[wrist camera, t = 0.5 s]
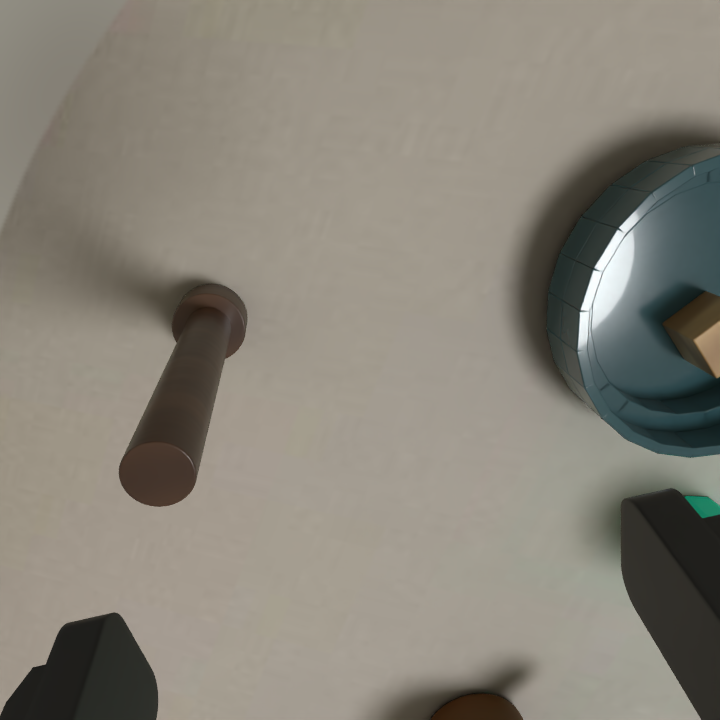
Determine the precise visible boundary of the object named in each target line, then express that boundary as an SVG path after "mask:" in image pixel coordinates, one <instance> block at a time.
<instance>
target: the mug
mask: <svg viewBox="0 0 720 720" xmlns="http://www.w3.org/2000/svg"><path fill="white" fill-rule="evenodd" d="M431 720H523V718H522V716H521V715H520V713H519V711H518V710H517V709H516V707H515V706H514V705H513V704H511V703H510V702H509V701H507V700H506V699H504V698H502V697H499V696H496V695H492V694H471V695H466V696H463V697H460V698H457V699H455V700H453V701H451V702H449V703H447V704H446V705H444V706H443V707H442V708H440V709H439V710H438V711H437V712H436V713H435V714H434V716H433V717H432V718H431Z"/></svg>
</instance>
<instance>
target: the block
mask: <svg viewBox="0 0 720 720" xmlns="http://www.w3.org/2000/svg"><path fill="white" fill-rule="evenodd" d="M662 325H663V326H664V328H665V330H666V331H667V333H668V334H669V336H670V338H671V339H672V341H673V342H674V344H675V346H676V347H677V349H678V350H679V352H680V353H681V355H682V357H683V358H684V360H686V361H688V362H689V363H691V364H693V365H694V366H696V367H698V368H700V369H701V370H703V371H705V372H706V373H708V374H710V375H711V376H713V377H715V378H719V377H720V296H717V295H715V294H712V293H710V292H707V291H705V292H703V293H702V294H701V295H699V296H698V297H697V298H695V299H694V300H693V301H691V302H690V303H689V304H687V305H686V306H685V307H683V308H682V309H681V310H679V311H678V312H677V313H675V314H674V315H673V316H671V317H670V318H669V319H667V320H666V321H664V322H663V323H662Z"/></svg>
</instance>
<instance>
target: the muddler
mask: <svg viewBox="0 0 720 720" xmlns="http://www.w3.org/2000/svg"><path fill="white" fill-rule="evenodd" d="M246 326H247V311H246V308H245V305H244V303H243V301H242V300H241V299H240V297H239V296H238V295H237V294H236V293H235V292H233V291H232V290H230V289H229V288H227V287H224V286H221V285H217V284H206V285H201V286H198V287H196V288H194V289H192V290H190V291H189V292H188V293H187V294H186V295H185V296H184V298H183V299H182V301H181V302H180V304H179V306H178V308H177V310H176V311H175V314H174V316H173V320H172V332H173V336H174V338H175V341H176V342H177V344H176V346H175V348H174V350H173V352H172V354H171V356H170V359H169V361H168V363H167V365H166V367H165V369H164V371H163V373H162V376H161V378H160V380H159V382H158V384H157V386H156V388H155V390H154V393H153V395H152V397H151V399H150V401H149V403H148V405H147V407H146V410H145V412H144V414H143V416H142V418H141V420H140V422H139V424H138V426H137V429H136V431H135V433H134V435H133V437H132V439H131V441H130V443H129V446H128V448H127V450H126V452H125V454H124V456H123V458H122V460H121V463H120V466H119V478H120V481H121V484H122V486H123V488H124V489H125V491H126V492H127V493H128V494H129V495H130V496H131V497H132V498H133V499H135V500H136V501H138V502H140V503H143V504H146V505H149V506H158V507H161V506H169V505H172V504H175V503H177V502H179V501H181V500H183V499H184V498H185V497H187V496H188V495H189V494H190V492H191V491H192V489H193V488H194V485H195V483H196V479H197V475H198V470H199V466H200V462H201V458H202V453H203V449H204V445H205V441H206V436H207V432H208V428H209V424H210V420H211V415H212V411H213V407H214V403H215V398H216V394H217V390H218V386H219V381H220V377H221V373H222V369H223V365H224V360H225V359H226V358H228V357H230V356H231V355H233V354H234V353H235V352H236V351H237V350H238V349H239V347H240V346H241V344H242V342H243V340H244V337H245V332H246Z"/></svg>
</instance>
